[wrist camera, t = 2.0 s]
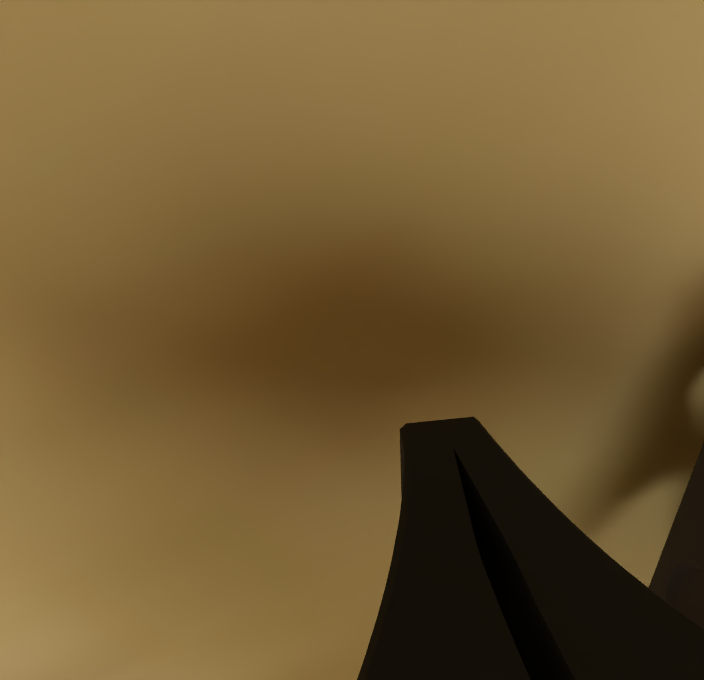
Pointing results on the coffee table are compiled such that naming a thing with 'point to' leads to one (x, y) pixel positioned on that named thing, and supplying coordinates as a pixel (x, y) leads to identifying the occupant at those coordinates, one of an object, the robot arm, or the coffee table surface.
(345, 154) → the coffee table surface
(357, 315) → the coffee table surface
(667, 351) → the coffee table surface
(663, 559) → the clip-on lamp
